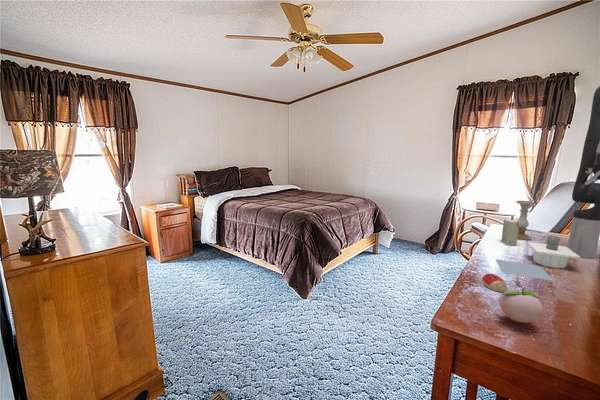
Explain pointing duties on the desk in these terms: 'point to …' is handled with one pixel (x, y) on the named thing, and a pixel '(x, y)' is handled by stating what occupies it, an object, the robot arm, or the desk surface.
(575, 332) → the desk surface
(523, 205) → the candle holder
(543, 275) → the mat
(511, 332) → the desk surface
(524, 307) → the decorative fruit
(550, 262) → the bowl
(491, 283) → the ladybug figurine
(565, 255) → the lid
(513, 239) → the skincare box
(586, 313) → the desk surface
